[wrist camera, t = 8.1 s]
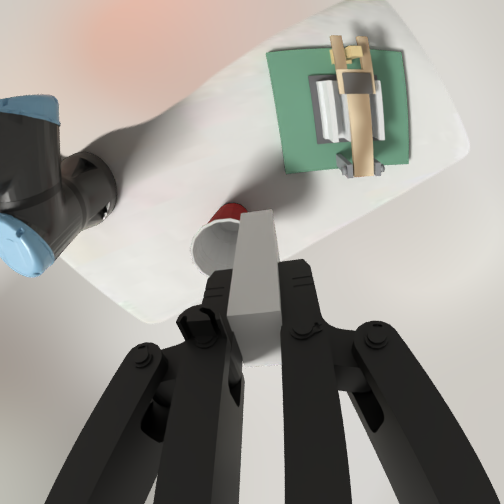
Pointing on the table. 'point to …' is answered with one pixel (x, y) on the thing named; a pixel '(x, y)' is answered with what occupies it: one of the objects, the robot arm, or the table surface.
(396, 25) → the table surface
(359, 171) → the strap
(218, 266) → the plastic cup
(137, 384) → the robot arm
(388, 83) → the board
